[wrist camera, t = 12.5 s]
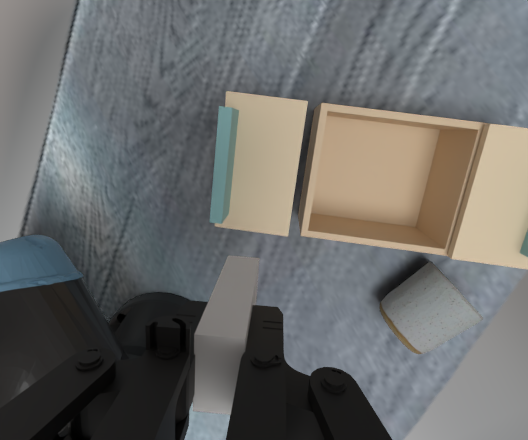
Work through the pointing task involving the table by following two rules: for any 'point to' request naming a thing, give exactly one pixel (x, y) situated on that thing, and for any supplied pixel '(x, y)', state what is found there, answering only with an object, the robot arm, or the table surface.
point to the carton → (386, 177)
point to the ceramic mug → (427, 310)
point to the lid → (495, 201)
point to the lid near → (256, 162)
